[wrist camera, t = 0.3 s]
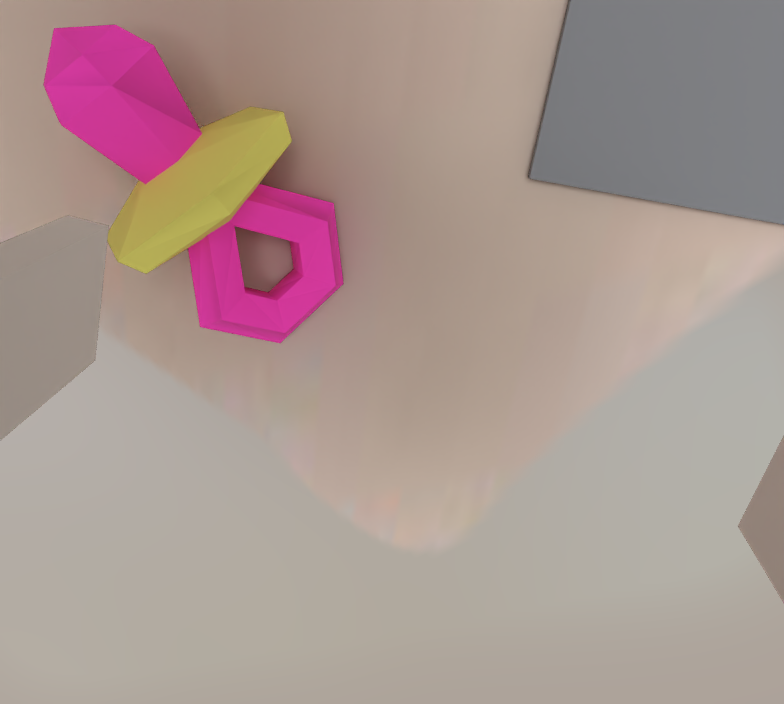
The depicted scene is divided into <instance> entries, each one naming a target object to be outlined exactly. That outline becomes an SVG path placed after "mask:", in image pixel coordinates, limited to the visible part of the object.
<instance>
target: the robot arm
mask: <svg viewBox="0 0 784 704" xmlns="http://www.w3.org/2000/svg"><path fill="white" fill-rule="evenodd" d="M108 229H109V226H108V225H104V224H100V223H96V222H92V221H88V220H85V219H81V218H77V217H73V216H69V215H67V216H65V217H62V218H60V219H58V220H55V221H53V222H50V223H48V224H45V225H43V226H41V227H38V228H36V229H33V230H31V231H28V232H26V233H24V234H21V235H19V236H16V237H14V238H11V239H9V240H7V241H4V242H2V243H0V440H2V439H3V438H4V437H5V436H6V435H8V434H9V433H10V432H11V431H12V430H13V429H15V428H16V427H17V426H18V425H19V424H20V423H22V422H23V421H24V420H25V419H26V418H28V417H29V416H30V415H31V414H32V413H34V412H35V411H36V410H37V409H38V408H40V407H41V406H42V405H43V404H44V403H45V402H47V401H48V400H49V399H50V398H51V397H53V396H54V395H55V394H56V393H57V392H58V391H60V390H61V389H62V388H63V387H64V386H66V385H67V384H68V383H69V382H70V381H72V380H73V379H74V378H75V377H76V376H77V375H79V374H80V373H81V372H82V371H83V370H85V369H86V368H87V367H88V366H89V365H90V364H92V363H93V362H94V361H95V357H96V348H97V338H98V328H99V318H100V308H101V298H102V288H103V279H104V269H105V259H106V249H107V239H108ZM738 527H739V529H740V530H741V532H742V534H743V535H744V537H745V539H746V541H747V542H748V544H749V546H750V547H751V549H752V551H753V552H754V554H755V556H756V557H757V559H758V561H759V562H760V564H761V566H762V567H763V569H764V570H765V573H766V574H767V576H768V578H769V579H770V581H771V583H772V584H773V586H774V588H775V589H776V591H777V593H778V594H779V596H780V598H781V599H782V601H783V603H784V436H783V438H782V440H781V442H780V444H779V446H778V448H777V450H776V452H775V454H774V456H773V458H772V460H771V462H770V464H769V466H768V468H767V470H766V472H765V474H764V476H763V477H762V480H761V481H760V483H759V485H758V488H757V489H756V491H755V493H754V495H753V498H752V499H751V501H750V503H749V505H748V507H747V509H746V511H745V513H744V515H743V517H742V519H741V521H740V523H739V525H738Z"/></svg>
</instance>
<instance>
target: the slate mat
mask: <svg viewBox="0 0 784 704" xmlns="http://www.w3.org/2000/svg"><path fill="white" fill-rule="evenodd" d="M528 177H529V178H530V179H534V180H540V181H545V182H551V183H557V184H562V185H568V186H573V187H579V188H584V189H590V190H595V191H601V192H606V193H612V194H617V195H623V196H628V197H634V198H639V199H645V200H650V201H656V202H661V203H667V204H673V205H678V206H684V207H689V208H695V209H700V210H706V211H711V212H717V213H722V214H728V215H733V216H739V217H744V218H750V219H755V220H761V221H766V222H772V223H777V224H783V225H784V0H569V2H568V6H567V10H566V15H565V19H564V23H563V28H562V32H561V36H560V41H559V45H558V49H557V54H556V58H555V63H554V67H553V71H552V76H551V80H550V84H549V89H548V93H547V97H546V102H545V106H544V110H543V115H542V119H541V123H540V128H539V132H538V136H537V141H536V145H535V149H534V154H533V158H532V162H531V167H530V171H529V175H528Z"/></svg>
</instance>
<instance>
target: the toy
mask: <svg viewBox="0 0 784 704" xmlns="http://www.w3.org/2000/svg"><path fill="white" fill-rule="evenodd" d="M43 85H44V87H45V90H46V92H47V94H48V97H49V99H50V101H51V104H52V106H53V108H54V111H55V113H56V115H57V118H58V120H59V122H60V123H61V125H62V126H63V127H65V128H66V129H68V130H69V131H70V132H72V133H73V134H75V135H76V136H78V137H79V138H80V139H82V140H83V141H85V142H86V143H87V144H89V145H90V146H92V147H93V148H95V149H96V150H97V151H99V152H100V153H102V154H103V155H104V156H106V157H107V158H109V159H110V160H112V161H113V162H114V163H116V164H117V165H119V166H120V167H121V168H123V169H124V170H126V171H127V172H129V173H130V174H131V175H133V176H134V177H136V178H137V179H138V180H139V181H138V183H137V184H136V186H135V188H134V189H133V191H132V193H131V194H130V196H129V198H128V199H127V201H126V203H125V205H124V206H123V208H122V210H121V211H120V213H119V215H118V216H117V218H116V220H115V221H114V223H113V225H112V226H111V228H110V230H109V231H108V239H107V241H108V243H109V245H110V247H111V249H112V251H113V253H114V255H115V257H116V259H117V261H118V262H120V263H122V264H124V265H127V266H129V267H131V268H134V269H136V270H138V271H141V272H143V273H146V274H147V273H148V272H150V271H152V270H153V269H155V268H156V267H158V266H160V265H161V264H163V263H165V262H166V261H168V260H169V259H171V258H173V257H174V256H176V255H177V254H179V253H181V252H182V251H184V250H186V249H187V248H188V251H189V258H190V264H191V271H192V277H193V284H194V290H195V297H196V303H197V310H198V316H199V323H200V327H203V328H208V329H213V330H218V331H223V332H228V333H232V334H237V335H242V336H247V337H252V338H257V339H262V340H267V341H272V342H277V343H281V342H282V341H283V340H284V339H285V338H286V337H287V336H288V335H289V334H290V333H292V332H293V331H294V330H295V329H296V328H297V327H298V326H299V325H300V324H301V323H302V322H303V321H304V320H305V319H306V318H307V317H309V316H310V315H311V314H312V313H313V312H314V311H315V310H316V309H317V308H318V307H319V306H320V305H321V304H322V303H323V302H324V301H326V300H327V299H328V298H329V297H330V296H331V295H332V294H333V293H334V292H335V291H336V290H337V289H338V288H339V287H340V286H341V285H342V284H343V277H342V269H341V260H340V252H339V244H338V235H337V227H336V219H335V210H334V203H331V202H327V201H323V200H319V199H315V198H312V197H308V196H304V195H300V194H296V193H293V192H289V191H285V190H281V189H277V188H273V187H270V186H266V185H262V184H259V183H260V182H261V181H262V180H263V178H264V177H265V176H266V174H267V173H268V172H269V170H270V169H271V168H272V167H273V165H274V164H275V163H276V161H277V160H278V159H279V157H280V156H281V155H282V154H283V152H284V151H285V150H286V148H287V147H288V146H289V144H290V143H291V142H292V140H291V136H290V133H289V130H288V126H287V123H286V120H285V116H284V113H283V112H280V111H274V110H268V109H261V108H255V107H249V108H246V109H244V110H241V111H239V112H237V113H234V114H232V115H230V116H227V117H225V118H223V119H220V120H218V121H216V122H213V123H211V124H208V125H206V126H204V127H201V128H199V127H198V125H197V123H196V121H195V120H194V118H193V116H192V114H191V112H190V111H189V109H188V107H187V105H186V103H185V101H184V100H183V98H182V96H181V94H180V92H179V90H178V89H177V87H176V85H175V83H174V81H173V80H172V78H171V76H170V74H169V72H168V70H167V69H166V67H165V65H164V63H163V61H162V59H161V58H160V56H159V54H158V52H157V50H156V49H155V47H154V45H152V44H150V43H148V42H146V41H145V40H143V39H141V38H139V37H137V36H135V35H133V34H132V33H130V32H128V31H126V30H124V29H122V28H121V27H119V26H117V25H102V26H85V27H68V28H54V31H53V37H52V42H51V47H50V53H49V58H48V63H47V68H46V74H45V79H44V84H43ZM234 226H236V227H240V228H244V229H247V230H251V231H255V232H259V233H263V234H266V235H270V236H274V237H278V238H282V239H285V240H289V241H290V246H291V253H292V260H293V267H294V269H293V270H292V271H291V272H290V273H289V274H288V275H286V276H285V277H284V278H283V279H282V280H281V281H280V282H279V283H278V284H277V285H276V286H275V287H274V288H273V289H271V290H270V291H269V292H264V291H260V290H256V289H252V288H247V287H244V283H243V277H242V270H241V264H240V258H239V252H238V246H237V239H236V233H235V227H234Z"/></svg>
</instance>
